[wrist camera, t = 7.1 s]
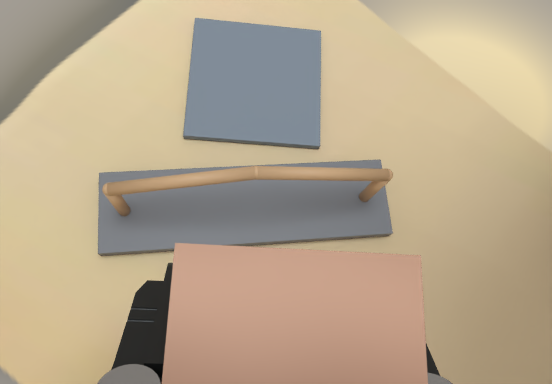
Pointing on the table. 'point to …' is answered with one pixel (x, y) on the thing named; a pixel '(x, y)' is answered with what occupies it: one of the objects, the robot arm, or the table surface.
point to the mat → (254, 84)
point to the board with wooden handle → (241, 205)
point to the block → (294, 317)
